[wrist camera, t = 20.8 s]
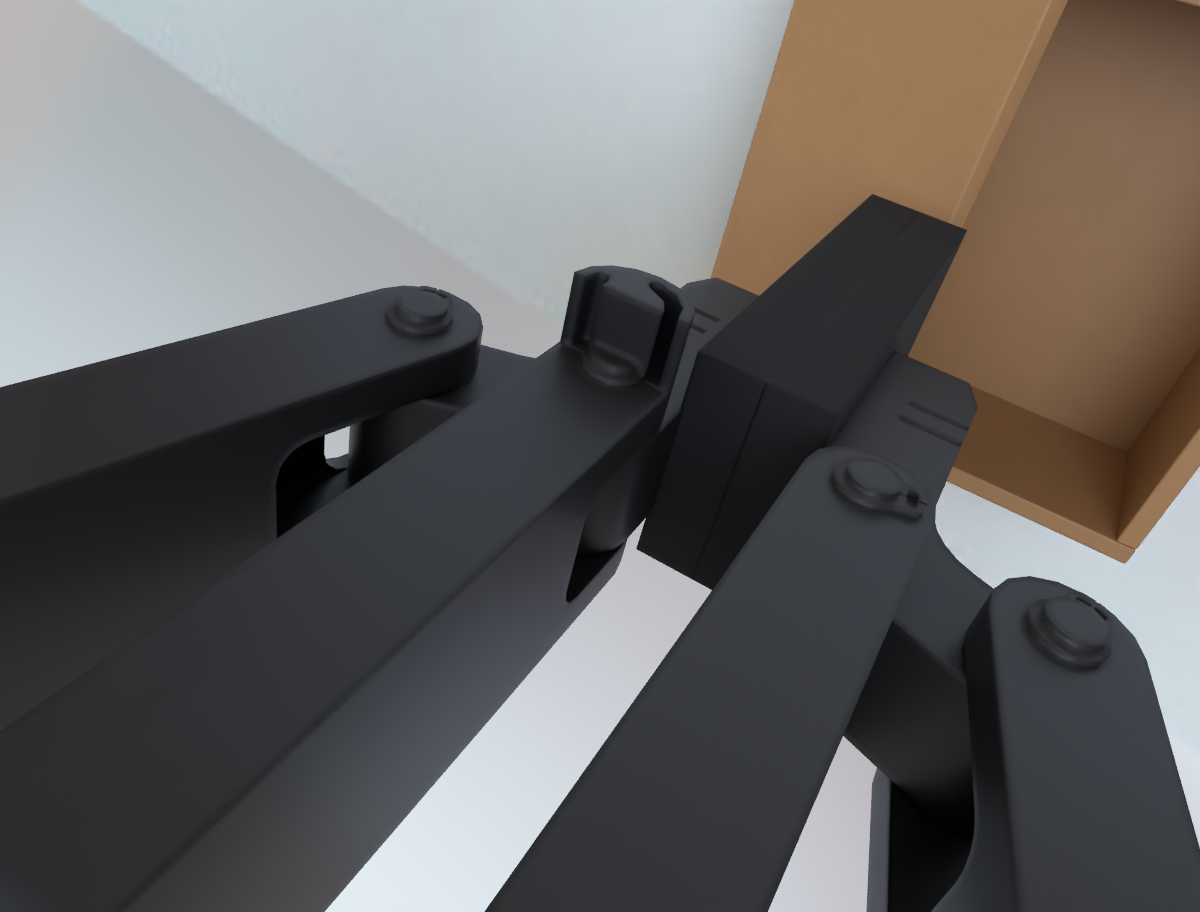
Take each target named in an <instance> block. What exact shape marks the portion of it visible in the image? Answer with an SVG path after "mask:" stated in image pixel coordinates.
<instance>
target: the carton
mask: <svg viewBox="0 0 1200 912" xmlns="http://www.w3.org/2000/svg"><path fill="white" fill-rule="evenodd" d="M962 228H963V229H966V230H967V232H966V234H965V236H964V238H963V240H962V242H961V245H960V247H959V249H958V251H957V253H956V255H955V257H954V259H953V262H952V264H951V266H950V268H949V270H948V272H947V274H946V276H945V278H944V281H943V283H942V285H941V287H940V289H939V291H938V293H937V295H936V297H935V300H934V302H933V304H932V306H931V308H930V310H929V312H928V314H927V316H926V319H925V321H924V323H923V325H922V327H921V329H920V331H919V333H918V335H917V338H916V340H915V342H914V344H913V346H912V348H911V350H910V352H909V354H908V357H910V358H913V359H915V360H917V361H920V362H922V363H924V364H927V365H929V366H931V367H934V368H936V369H938V370H940V371H943V372H945V373H947V374H950V375H952V376H954V377H957V378H959V379H961V380H964V381H966V382H968V383H970V386H971V389H972V391H973V394H974V397H975V400H976V402H977V405H978V409H977V411H976V413H975V416H974V418H973V420H972V423H971V425H970V427H969V429H968V432H967V434H966V437H965V439H964V441H963V444H962V445H961V448H960V451H959V453H958V455H957V458H956V460H955V462H954V465H953V467H952V469H951V472H950V474H949V476H948V479H947V481H948V482H950V483H952V484H954V485H956V486H959V487H961V488H963V489H965V490H967V491H969V492H971V493H974V494H976V495H978V496H980V497H982V498H984V499H986V500H989V501H991V502H993V503H995V504H997V505H999V506H1002V507H1004V508H1006V509H1008V510H1010V511H1012V512H1014V513H1017V514H1019V515H1021V516H1023V517H1025V518H1027V519H1030V520H1032V521H1034V522H1036V523H1038V524H1040V525H1042V526H1045V527H1047V528H1049V529H1051V530H1053V531H1055V532H1057V533H1060V534H1062V535H1064V536H1066V537H1068V538H1070V539H1073V540H1075V541H1077V542H1079V543H1081V544H1083V545H1085V546H1088V547H1090V548H1092V549H1094V550H1096V551H1098V552H1100V553H1103V554H1105V555H1107V556H1109V557H1111V558H1113V559H1116V560H1118V561H1120V562H1122V563H1126V562H1127V561H1128V560H1129V559H1130V557H1131V556H1132V555H1133V553H1134V552H1135V549H1137V548H1138V547H1139V545H1140V544H1141V543H1142V541H1143V540H1144V539H1145V537H1146V536H1147V535H1148V533H1149V532H1150V531H1151V530H1152V528H1153V527H1154V526H1155V524H1156V523H1157V522H1158V520H1159V519H1160V518H1161V516H1162V515H1163V514H1164V512H1165V511H1166V510H1167V508H1168V507H1169V506H1170V504H1171V503H1172V502H1173V501H1174V499H1175V498H1176V497H1177V495H1178V494H1179V493H1180V491H1181V490H1182V489H1183V487H1184V486H1185V485H1186V483H1187V482H1188V481H1189V479H1190V478H1191V477H1192V475H1193V474H1194V473H1195V472H1196V470H1197V469H1198V468H1199V466H1200V0H1068V2H1067V4H1066V6H1065V8H1064V10H1063V13H1062V15H1061V17H1060V19H1059V21H1058V23H1057V25H1056V28H1055V30H1054V32H1053V34H1052V36H1051V38H1050V40H1049V43H1048V45H1047V47H1046V49H1045V51H1044V53H1043V55H1042V57H1041V60H1040V62H1039V64H1038V66H1037V68H1036V70H1035V72H1034V75H1033V77H1032V79H1031V81H1030V83H1029V85H1028V87H1027V90H1026V92H1025V94H1024V96H1023V98H1022V100H1021V102H1020V105H1019V107H1018V109H1017V111H1016V113H1015V115H1014V117H1013V120H1012V122H1011V124H1010V126H1009V128H1008V130H1007V132H1006V135H1005V137H1004V139H1003V141H1002V143H1001V145H1000V147H999V149H998V152H997V154H996V156H995V158H994V160H993V162H992V164H991V167H990V169H989V171H988V173H987V175H986V177H985V179H984V182H983V184H982V186H981V188H980V190H979V192H978V194H977V197H976V199H975V201H974V203H973V205H972V207H971V209H970V212H969V214H968V216H967V218H966V220H965V222H964V224H963V227H962Z"/></svg>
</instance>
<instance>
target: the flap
mask: <svg viewBox="0 0 1200 912" xmlns="http://www.w3.org/2000/svg"><path fill="white" fill-rule="evenodd" d="M1067 2H1068V0H795V1H794V5H793V8H792V11H791V15H790V18H789V21H788V25H787V28H786V31H785V34H784V38H783V41H782V44H781V48H780V51H779V54H778V58H777V61H776V64H775V67H774V71H773V74H772V77H771V81H770V84H769V87H768V91H767V94H766V97H765V100H764V104H763V107H762V110H761V114H760V117H759V120H758V124H757V127H756V130H755V133H754V137H753V140H752V143H751V147H750V150H749V153H748V157H747V160H746V163H745V166H744V170H743V173H742V176H741V180H740V183H739V186H738V190H737V193H736V196H735V199H734V203H733V206H732V209H731V213H730V216H729V219H728V223H727V226H726V229H725V232H724V236H723V239H722V242H721V246H720V249H719V252H718V256H717V259H716V262H715V265H714V269H713V272H712V275H711V278H716V277H717V278H719V279H722V280H724V281H726V282H729V283H731V284H733V285H736V286H738V287H740V288H742V289H745V290H747V291H749V292H752V293H754V294H756V295H759V296H760V295H761V294H762V293H763V292H764V291H765V290H766V289H767V288H768V287H770V286H771V285H772V284H773V283H774V282H775V281H776V280H777V279H778V278H780V277H781V276H782V275H783V274H784V273H785V272H786V271H787V270H788V269H790V268H791V267H792V266H793V265H794V264H795V263H796V262H797V261H798V260H800V259H801V258H802V257H803V256H804V255H805V254H806V253H807V252H808V251H810V250H811V249H812V248H813V247H814V246H815V245H816V244H817V243H818V242H819V241H821V240H822V239H823V238H824V237H825V236H826V235H827V234H828V233H829V232H831V231H832V230H833V229H834V228H835V227H836V226H837V225H838V224H839V223H841V222H842V221H843V220H844V219H845V218H846V217H847V216H848V215H849V214H851V213H852V212H853V211H854V210H855V209H856V208H857V207H858V206H859V205H861V204H862V203H863V202H864V201H865V200H866V199H867V198H868V197H869V196H871V195H872V194H874V195H877V196H879V197H882V198H885V199H887V200H890V201H893V202H895V203H898V204H900V205H903V206H906V207H908V208H911V209H914V210H916V211H919V212H921V213H924V214H927V215H929V216H932V217H935V218H937V219H940V220H942V221H945V222H948V223H950V224H953V225H956V226H958V227H961V228H962V227H963V224H964V222H965V220H966V218H967V216H968V214H969V212H970V209H971V207H972V205H973V203H974V201H975V199H976V197H977V194H978V192H979V190H980V188H981V186H982V184H983V182H984V179H985V177H986V175H987V173H988V171H989V169H990V167H991V164H992V162H993V160H994V158H995V156H996V154H997V152H998V149H999V147H1000V145H1001V143H1002V141H1003V139H1004V137H1005V135H1006V132H1007V130H1008V128H1009V126H1010V124H1011V122H1012V120H1013V117H1014V115H1015V113H1016V111H1017V109H1018V107H1019V105H1020V102H1021V100H1022V98H1023V96H1024V94H1025V92H1026V90H1027V87H1028V85H1029V83H1030V81H1031V79H1032V77H1033V75H1034V72H1035V70H1036V68H1037V66H1038V64H1039V62H1040V60H1041V57H1042V55H1043V53H1044V51H1045V49H1046V47H1047V45H1048V43H1049V40H1050V38H1051V36H1052V34H1053V32H1054V30H1055V28H1056V25H1057V23H1058V21H1059V19H1060V17H1061V15H1062V13H1063V10H1064V8H1065V6H1066V4H1067Z"/></svg>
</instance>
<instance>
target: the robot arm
mask: <svg viewBox="0 0 1200 912" xmlns="http://www.w3.org/2000/svg"><path fill="white" fill-rule="evenodd" d="M966 232H967V230H966V229H963V228H961V227H958V226H956V225H953V224H950V223H948V222H945V221H942V220H940V219H937V218H935V217H932V216H929V215H927V214H924V213H921V212H919V211H916V210H914V209H911V208H908V207H906V206H903V205H900V204H898V203H895V202H893V201H890V200H887V199H885V198H882V197H879V196H877V195H874V194H872V195H871V196H869V197H868V198H867V199H866V200H865V201H864V202H863V203H862V204H861V205H859V206H858V207H857V208H856V209H855V210H854V211H853V212H852V213H851V214H849V215H848V216H847V217H846V218H845V219H844V220H843V221H842V222H841V223H839V224H838V225H837V226H836V227H835V228H834V229H833V230H832V231H831V232H829V233H828V234H827V235H826V236H825V237H824V238H823V239H822V240H821V241H819V242H818V243H817V244H816V245H815V246H814V247H813V248H812V249H811V250H810V251H808V252H807V253H806V254H805V255H804V256H803V257H802V258H801V259H800V260H798V261H797V262H796V263H795V264H794V265H793V266H792V267H791V268H790V269H788V270H787V271H786V272H785V273H784V274H783V275H782V276H781V277H780V278H778V279H777V280H776V281H775V282H774V283H773V284H772V285H771V286H770V287H768V288H767V289H766V290H765V291H764V292H763V293H762V294H761V295H760V296H759V295H756V294H754V293H752V292H749V291H747V290H745V289H742V288H740V287H738V286H736V285H733V284H731V283H729V282H726V281H724V280H722V279H719V278H717V277H716V278H711V279H706V280H701V281H696V282H692V283H687V284H686V285H685V286H683V287H682V288H681V289H679V288H678V287H676V286H675V285H673V284H671V283H669V282H667V281H666V280H664V279H662V278H660V277H658V276H655V275H652V274H649V273H646V272H643V271H640V270H637V269H631V268H625V267H618V266H592V267H588V268H585V269H582V270H579V271H576V272H574V277H573V282H572V287H571V292H570V297H569V302H568V307H567V311H566V316H565V321H564V326H563V331H562V336H561V341H560V342H559V343H557V344H556V345H555V346H553V347H552V348H550V349H549V350H547V351H546V352H544V353H543V354H542V355H540V356H539V357H537V358H531V357H526V356H521V355H517V354H514V353H510V352H506V351H502V350H498V349H495V348H490V347H487V346H483V345H480V344H481V337H482V330H483V325H482V321H481V317H480V314H479V313H478V312H477V311H476V310H475V309H474V308H473V307H472V306H471V305H470V304H469V303H468V302H466V301H464V300H462V299H460V298H458V297H456V296H454V295H452V294H450V293H448V292H446V291H443V290H440V289H439V290H437V289H436V288H432V287H428V286H421V287H415V286H398V287H391V288H383V289H379V290H375V291H371V292H367V293H363V294H359V295H355V296H352V297H348V298H344V299H340V300H336V301H333V302H329V303H325V304H321V305H317V306H313V307H309V308H305V309H302V310H298V311H294V312H290V313H286V314H282V315H278V316H274V317H271V318H267V319H263V320H259V321H255V322H251V323H247V324H244V325H240V326H236V327H232V328H228V329H224V330H220V331H216V332H213V333H209V334H205V335H201V336H197V337H193V338H189V339H185V340H182V341H178V342H174V343H170V344H166V345H162V346H159V347H155V348H151V349H147V350H143V351H139V352H135V353H132V354H128V355H124V356H120V357H116V358H112V359H108V360H105V361H100V362H97V363H93V364H89V365H85V366H81V367H77V368H73V369H70V370H66V371H62V372H58V373H55V374H51V375H46V376H43V377H39V378H35V379H31V380H27V381H23V382H19V383H15V384H12V385H8V386H4V387H1V388H0V912H325V910H326V909H327V908H328V907H329V906H330V905H331V903H332V902H333V901H334V900H335V899H336V898H337V897H338V895H339V894H340V893H341V892H342V891H343V890H344V888H345V887H346V886H347V885H348V884H349V883H350V881H351V880H352V879H353V878H354V877H355V875H356V874H357V873H358V872H359V871H360V870H361V869H362V867H363V866H364V865H365V864H366V863H367V862H368V860H369V859H370V858H371V857H372V855H374V853H375V852H376V851H377V850H378V849H379V848H380V846H381V845H382V844H383V843H384V842H385V841H386V839H387V838H388V837H389V836H390V834H392V832H393V831H394V830H395V829H396V828H397V827H398V825H399V824H400V823H401V822H402V821H403V820H404V818H405V817H406V816H407V815H408V814H409V813H410V812H411V810H412V809H413V808H414V807H415V806H416V805H417V803H418V802H419V801H420V800H421V799H422V798H423V796H424V795H425V794H426V793H427V791H428V790H429V789H430V788H431V787H432V786H433V785H434V784H435V782H436V781H437V780H438V779H439V778H440V776H441V775H442V774H443V773H444V772H445V771H446V770H447V768H448V767H449V766H450V765H451V764H452V762H453V761H454V760H455V759H456V758H457V757H458V756H459V754H460V753H461V752H462V751H463V750H464V749H465V747H466V746H467V745H468V744H469V743H470V741H471V740H472V739H473V738H474V737H475V736H476V735H477V733H478V732H479V731H480V730H481V729H482V728H483V726H484V725H485V724H486V723H487V722H488V721H489V720H490V718H491V717H492V716H493V715H494V714H495V713H496V711H497V710H498V709H499V708H500V707H501V706H502V704H503V703H504V702H505V701H506V700H507V698H508V697H509V696H510V695H511V694H512V693H513V692H514V690H515V689H516V688H517V687H518V685H519V684H520V683H521V682H522V681H523V680H524V679H525V678H526V676H527V675H528V674H529V673H530V672H531V670H532V669H533V668H534V667H535V666H536V665H537V664H538V662H539V661H540V660H541V659H542V658H543V657H544V655H545V654H546V653H547V652H548V651H549V650H550V649H551V647H552V646H553V644H555V643H556V641H557V640H558V639H559V638H560V637H561V636H562V634H563V633H564V632H565V631H566V630H567V629H568V628H569V626H570V625H571V624H572V623H573V622H574V620H575V619H576V618H577V617H578V616H579V615H580V614H581V612H582V611H583V610H584V609H585V608H586V606H587V605H588V604H589V603H590V602H591V601H592V600H593V598H594V597H595V596H596V595H597V594H598V593H599V591H600V590H601V589H602V588H603V587H604V586H605V584H606V583H607V582H608V581H609V580H610V579H611V577H612V576H613V575H614V574H615V572H616V570H617V567H618V566H619V563H620V561H621V558H622V555H623V552H624V548H625V545H626V542H627V538H628V537H629V536H630V535H631V533H632V532H633V531H634V530H635V529H636V528H637V527H638V526H639V525H640V523H641V522H642V521H643V520H644V519H645V518H646V520H645V523H644V526H643V529H642V533H641V536H640V539H639V542H638V545H637V550H639V551H641V552H643V553H645V554H647V555H648V556H651V557H652V558H654V559H656V560H658V561H659V562H662V563H663V564H665V565H667V566H669V567H671V568H673V569H674V570H676V571H678V572H680V573H682V574H683V575H685V576H687V577H689V578H691V579H693V580H695V581H696V582H698V583H700V584H702V585H704V586H706V587H707V588H709V589H711V590H712V591H711V593H710V594H709V596H708V597H707V599H706V600H705V602H704V603H703V604H702V606H701V607H700V608H699V610H698V611H697V613H696V614H695V616H694V617H693V618H692V620H691V621H690V623H689V624H688V625H687V627H686V628H685V630H684V631H683V632H682V634H681V635H680V637H679V638H678V640H677V641H676V642H675V644H674V645H673V647H672V648H671V649H670V651H669V652H668V654H667V655H666V656H665V658H664V659H663V661H662V662H661V664H660V665H659V666H658V668H657V669H656V671H655V672H654V673H653V675H652V676H651V678H650V679H649V680H648V682H647V683H646V685H645V686H644V688H643V689H642V690H641V692H640V693H639V695H638V696H637V697H636V699H635V700H634V702H633V703H632V704H631V706H630V707H629V709H628V710H627V711H626V713H625V715H624V716H623V717H622V718H621V720H620V721H619V723H618V724H617V726H616V727H615V728H614V730H613V731H612V733H611V734H610V736H609V737H608V738H607V740H606V741H605V742H604V744H603V745H602V747H601V748H600V750H599V751H598V752H597V754H596V755H595V757H594V758H593V760H592V761H591V762H590V764H589V765H588V766H587V768H586V769H585V771H584V772H583V774H582V775H581V776H580V778H579V780H578V781H577V782H576V783H575V785H574V786H573V788H572V789H571V791H570V792H569V793H568V795H567V796H566V798H565V799H564V800H563V802H562V803H561V805H560V806H559V807H558V809H557V810H556V812H555V813H554V815H553V816H552V817H551V819H550V820H549V822H548V823H547V824H546V826H545V827H544V829H543V830H542V832H541V833H540V834H539V836H538V837H537V838H536V840H535V841H534V843H533V844H532V846H531V847H530V848H529V850H528V851H527V853H526V854H525V856H524V857H523V858H522V860H521V861H520V863H519V864H518V865H517V867H516V868H515V869H514V871H513V872H512V874H511V875H510V877H509V878H508V879H507V881H506V882H505V884H504V885H503V887H502V888H501V889H500V891H499V892H498V893H497V895H496V896H495V898H494V899H493V901H492V902H491V903H490V905H489V906H488V908H487V909H486V910H485V912H768V910H769V907H770V905H771V903H772V900H773V898H774V896H775V893H776V891H777V889H778V886H779V884H780V882H781V879H782V877H783V875H784V872H785V870H786V867H787V865H788V863H789V861H790V858H791V856H792V854H793V851H794V849H795V847H796V844H797V842H798V840H799V837H800V835H801V833H802V830H803V828H804V826H805V823H806V821H807V819H808V816H809V814H810V811H811V809H812V807H813V804H814V802H815V800H816V798H817V795H818V793H819V791H820V788H821V786H822V784H823V781H824V779H825V776H826V774H827V772H828V769H829V767H830V765H831V762H832V760H833V758H834V755H835V753H836V751H837V748H838V746H839V744H840V741H841V739H842V737H843V736H844V737H845V738H846V739H847V740H848V741H850V742H851V743H852V744H853V745H854V746H855V747H856V748H857V749H858V750H859V751H860V752H861V753H862V754H863V755H864V756H866V757H867V758H868V759H869V760H870V761H871V762H872V763H873V764H874V765H875V766H876V767H877V770H876V773H875V776H874V780H873V783H872V800H871V823H870V846H869V847H870V848H869V870H868V893H867V912H1200V848H1199V844H1198V841H1197V837H1196V834H1195V830H1194V826H1193V823H1192V820H1191V816H1190V812H1189V809H1188V805H1187V802H1186V798H1185V795H1184V791H1183V787H1182V784H1181V780H1180V777H1179V773H1178V770H1177V766H1176V763H1175V759H1174V755H1173V752H1172V748H1171V745H1170V741H1169V738H1168V734H1167V731H1166V727H1165V724H1164V720H1163V716H1162V713H1161V709H1160V706H1159V702H1158V699H1157V695H1156V692H1155V688H1154V684H1153V681H1152V677H1151V674H1150V670H1149V667H1148V663H1147V660H1146V658H1145V656H1144V654H1143V652H1142V650H1141V648H1140V646H1139V644H1138V642H1137V640H1136V638H1135V637H1134V636H1133V635H1132V634H1131V633H1130V631H1129V630H1128V629H1127V628H1126V627H1125V626H1124V625H1123V624H1122V623H1121V622H1120V621H1119V620H1118V619H1117V617H1116V616H1115V615H1114V614H1112V613H1111V612H1110V611H1109V610H1107V609H1106V608H1105V607H1103V606H1102V605H1101V604H1100V603H1099V604H1098V603H1097V602H1095V600H1094V599H1092V598H1090V597H1088V596H1087V595H1085V594H1083V593H1081V592H1078V591H1076V590H1074V589H1072V588H1070V587H1067V586H1065V585H1063V584H1061V583H1059V582H1055V581H1050V580H1045V579H1041V578H1036V577H1031V576H1028V577H1019V578H1009V579H1007V580H1005V581H1004V582H1003V583H1001V584H1000V585H999V586H997V587H996V588H994V589H993V588H992V587H990V586H989V585H988V584H986V583H985V582H984V581H982V580H981V579H980V578H978V577H977V576H976V575H974V574H973V573H972V572H971V571H970V570H969V569H967V568H966V567H965V566H964V565H963V564H962V563H960V562H959V561H958V560H957V559H956V558H955V556H954V555H953V554H952V553H951V552H950V550H949V549H948V548H947V547H946V546H945V544H944V543H943V541H942V539H941V537H940V535H939V533H938V532H937V529H936V525H935V511H936V504H937V502H938V500H939V497H940V495H941V493H942V490H943V488H944V486H945V483H946V481H947V479H948V476H949V474H950V472H951V469H952V467H953V465H954V462H955V460H956V458H957V455H958V453H959V451H960V448H961V445H962V444H963V441H964V439H965V437H966V434H967V432H968V429H969V427H970V425H971V423H972V420H973V418H974V416H975V413H976V411H977V409H978V405H977V402H976V400H975V397H974V394H973V391H972V389H971V386H970V383H968V382H966V381H964V380H961V379H959V378H957V377H954V376H952V375H950V374H947V373H945V372H943V371H940V370H938V369H936V368H934V367H931V366H929V365H927V364H924V363H922V362H920V361H917V360H915V359H913V358H910V357H908V354H909V352H910V350H911V348H912V346H913V344H914V342H915V340H916V338H917V335H918V333H919V331H920V329H921V327H922V325H923V323H924V321H925V319H926V316H927V314H928V312H929V310H930V308H931V306H932V304H933V302H934V300H935V297H936V295H937V293H938V291H939V289H940V287H941V285H942V283H943V281H944V278H945V276H946V274H947V272H948V270H949V268H950V266H951V264H952V262H953V259H954V257H955V255H956V253H957V251H958V249H959V247H960V245H961V242H962V240H963V238H964V236H965V234H966ZM348 426H350V438H349V453H348V454H345V455H343V456H341V457H337V458H330V459H325V455H324V439H325V435H326V434H329V433H331V432H334V431H337V430H340V429H342V428H345V427H348Z"/></svg>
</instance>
